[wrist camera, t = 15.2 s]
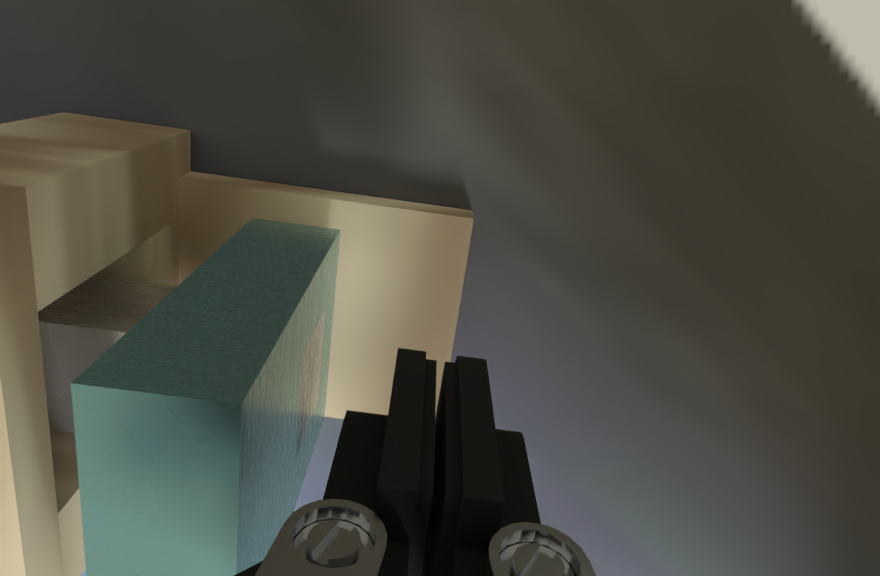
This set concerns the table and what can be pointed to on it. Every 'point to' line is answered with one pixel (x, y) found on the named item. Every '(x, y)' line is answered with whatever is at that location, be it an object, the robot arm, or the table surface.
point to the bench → (169, 263)
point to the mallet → (195, 401)
